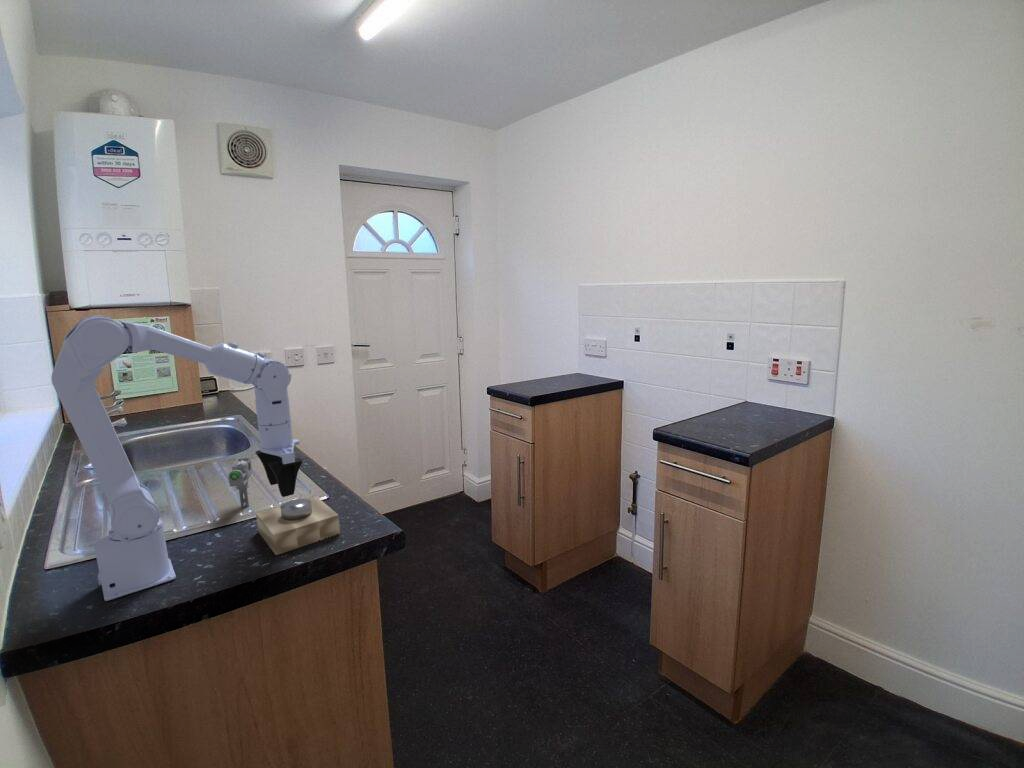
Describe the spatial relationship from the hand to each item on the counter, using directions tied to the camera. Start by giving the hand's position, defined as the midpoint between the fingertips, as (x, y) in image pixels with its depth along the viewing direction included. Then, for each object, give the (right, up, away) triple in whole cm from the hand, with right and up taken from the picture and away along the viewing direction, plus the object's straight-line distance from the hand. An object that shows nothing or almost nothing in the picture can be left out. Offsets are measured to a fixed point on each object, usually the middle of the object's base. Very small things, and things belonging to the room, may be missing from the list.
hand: (281, 489), depth 99 cm
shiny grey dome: (+3, -9, +2) cm, 9 cm away
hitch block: (+3, -9, +2) cm, 10 cm away
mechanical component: (-15, -7, +15) cm, 22 cm away
